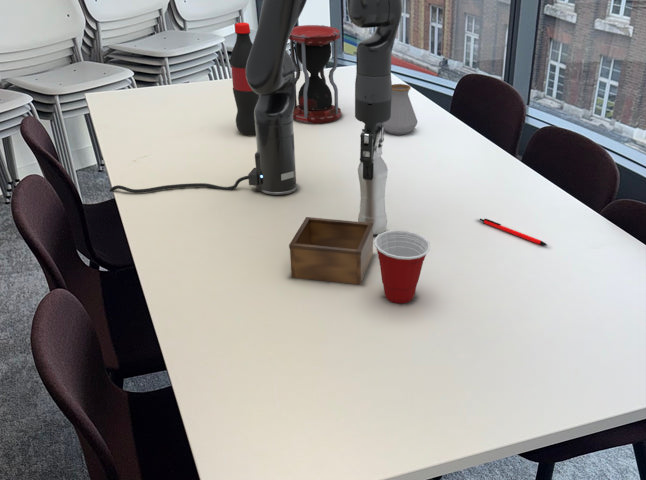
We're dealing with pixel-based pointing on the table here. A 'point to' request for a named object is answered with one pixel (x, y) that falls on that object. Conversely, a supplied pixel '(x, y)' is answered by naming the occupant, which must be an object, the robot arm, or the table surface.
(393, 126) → the coffee pot
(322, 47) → the hourglass
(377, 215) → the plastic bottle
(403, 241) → the plastic cup
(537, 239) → the pen
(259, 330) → the table surface
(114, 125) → the table surface
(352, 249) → the wooden box
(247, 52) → the cola bottle
